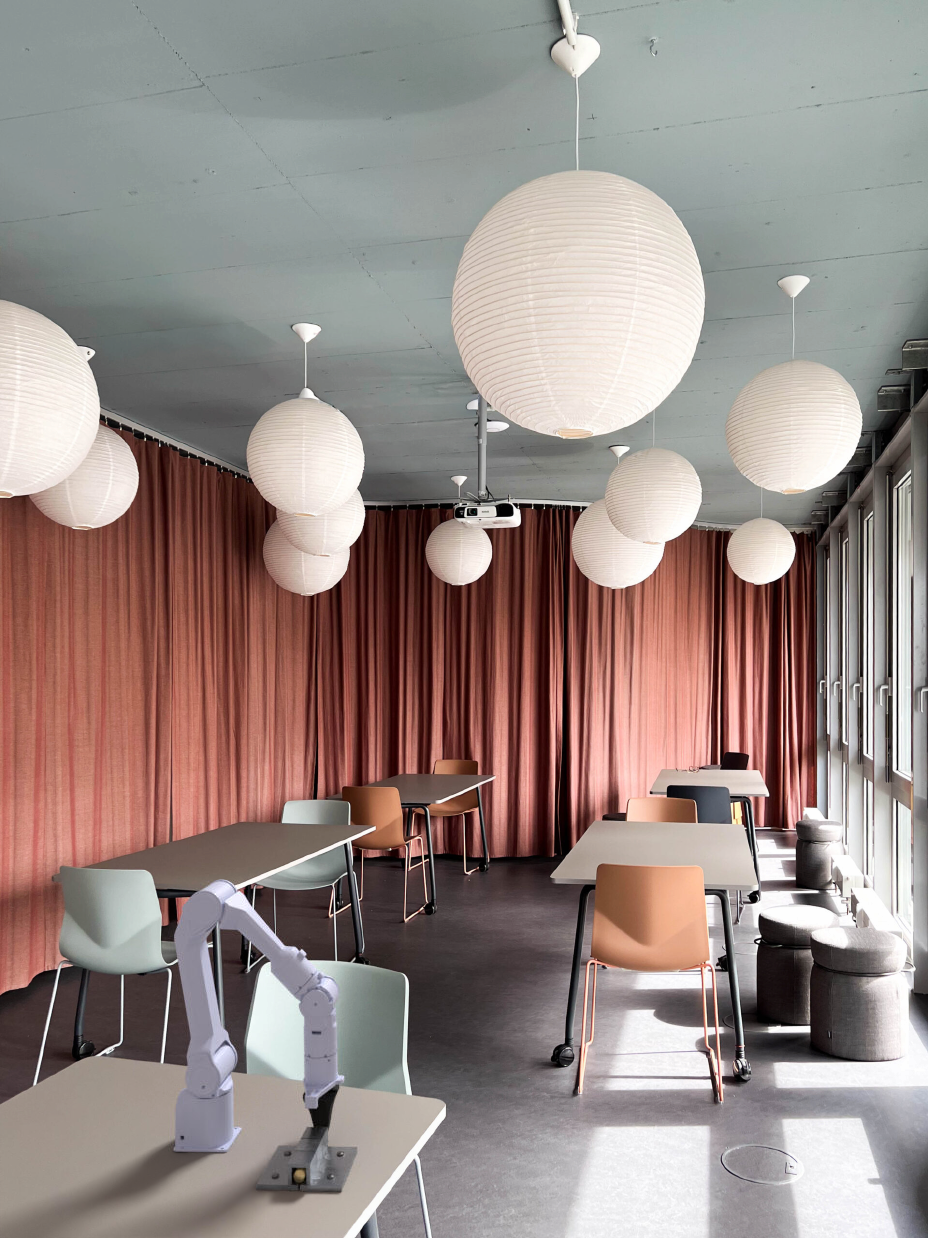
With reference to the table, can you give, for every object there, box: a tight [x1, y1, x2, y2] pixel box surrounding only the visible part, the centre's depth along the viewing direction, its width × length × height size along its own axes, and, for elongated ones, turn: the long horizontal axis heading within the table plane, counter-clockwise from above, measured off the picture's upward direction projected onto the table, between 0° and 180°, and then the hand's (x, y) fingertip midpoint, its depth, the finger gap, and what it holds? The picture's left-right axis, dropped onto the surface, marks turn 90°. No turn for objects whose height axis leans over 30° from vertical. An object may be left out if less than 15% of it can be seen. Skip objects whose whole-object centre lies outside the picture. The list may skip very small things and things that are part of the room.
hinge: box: [256, 1126, 358, 1192], centre depth 150 cm, size 14×12×4 cm
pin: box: [294, 1126, 323, 1183], centre depth 151 cm, size 3×14×3 cm, turn 175°
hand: (321, 1132), depth 159 cm, fingers closed
